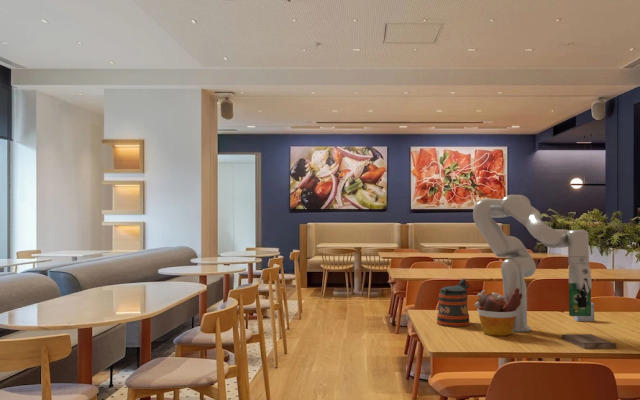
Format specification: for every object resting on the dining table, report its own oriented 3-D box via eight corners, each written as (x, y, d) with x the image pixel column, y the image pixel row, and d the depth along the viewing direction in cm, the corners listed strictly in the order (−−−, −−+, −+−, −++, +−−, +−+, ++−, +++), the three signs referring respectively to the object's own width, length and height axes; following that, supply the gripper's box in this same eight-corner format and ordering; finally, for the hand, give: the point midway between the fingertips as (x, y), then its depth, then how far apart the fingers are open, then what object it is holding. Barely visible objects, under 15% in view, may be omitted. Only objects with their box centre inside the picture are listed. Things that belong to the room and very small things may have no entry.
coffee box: (588, 315, 225) (587, 282, 225) (592, 316, 222) (591, 283, 222) (568, 315, 224) (567, 282, 225) (572, 316, 221) (571, 283, 222)
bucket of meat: (466, 333, 236) (466, 286, 237) (486, 328, 248) (485, 283, 248) (511, 340, 222) (511, 290, 223) (530, 334, 233) (529, 286, 234)
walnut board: (584, 348, 208) (584, 343, 208) (561, 338, 226) (561, 333, 226) (616, 348, 208) (615, 343, 208) (590, 338, 226) (590, 333, 226)
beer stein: (450, 318, 271) (450, 277, 272) (479, 322, 262) (478, 279, 263) (431, 324, 257) (430, 280, 258) (460, 328, 247) (460, 282, 248)
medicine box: (591, 320, 267) (590, 301, 268) (594, 321, 263) (594, 303, 263) (573, 319, 268) (573, 301, 269) (577, 321, 264) (576, 303, 264)
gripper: (598, 262, 216) (600, 310, 215) (577, 259, 232) (578, 303, 231) (579, 262, 216) (580, 310, 215) (559, 259, 232) (561, 304, 231)
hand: (579, 306), depth 223 cm, fingers closed on coffee box, 3 cm apart
